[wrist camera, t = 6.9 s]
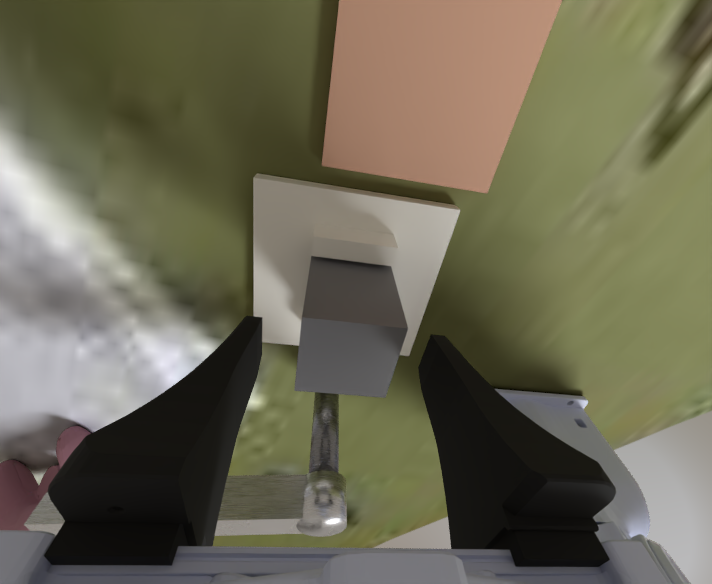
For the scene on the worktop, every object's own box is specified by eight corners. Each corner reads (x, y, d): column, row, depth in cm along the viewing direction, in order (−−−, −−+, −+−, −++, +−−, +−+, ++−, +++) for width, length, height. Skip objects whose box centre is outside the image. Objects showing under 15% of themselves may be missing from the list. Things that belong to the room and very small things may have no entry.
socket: (455, 204, 17) (520, 275, 11) (392, 389, 24) (409, 491, 18) (257, 173, 15) (204, 233, 9) (256, 378, 23) (226, 484, 17)
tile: (561, -27, 12) (574, -33, 11) (481, 188, 16) (486, 193, 16) (348, -84, 11) (349, -95, 10) (322, 162, 15) (321, 165, 15)
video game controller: (56, 460, 30) (36, 553, 27) (-10, 463, 27) (-43, 570, 23) (129, 425, 28) (119, 521, 24) (68, 421, 24) (45, 534, 20)
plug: (388, 256, 17) (408, 328, 12) (373, 315, 19) (385, 397, 14) (313, 245, 17) (301, 317, 12) (306, 307, 19) (294, 390, 14)
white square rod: (53, 473, 16) (19, 520, 14) (347, 470, 17) (347, 513, 15) (73, 497, 17) (44, 543, 15) (345, 493, 18) (345, 535, 16)
